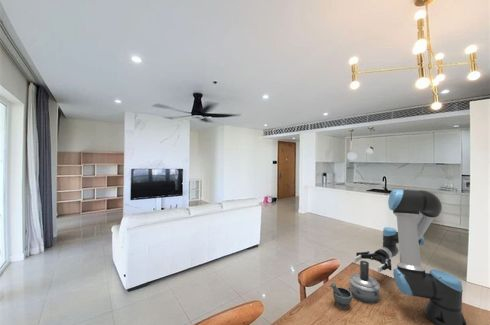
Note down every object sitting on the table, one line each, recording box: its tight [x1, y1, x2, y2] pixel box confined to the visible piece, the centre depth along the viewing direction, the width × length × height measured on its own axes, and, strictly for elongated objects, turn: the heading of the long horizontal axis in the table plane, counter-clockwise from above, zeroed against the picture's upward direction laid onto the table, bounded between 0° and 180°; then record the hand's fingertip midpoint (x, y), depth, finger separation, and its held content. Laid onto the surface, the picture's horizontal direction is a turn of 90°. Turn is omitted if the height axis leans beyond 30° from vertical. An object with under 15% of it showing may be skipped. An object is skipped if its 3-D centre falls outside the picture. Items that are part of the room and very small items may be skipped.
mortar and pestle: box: [330, 282, 353, 310], centre depth 116 cm, size 11×9×12 cm
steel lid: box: [352, 260, 377, 288], centre depth 123 cm, size 12×12×12 cm
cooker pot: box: [348, 273, 381, 304], centre depth 124 cm, size 16×16×8 cm
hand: (366, 264), depth 125 cm, fingers open, 13 cm apart
